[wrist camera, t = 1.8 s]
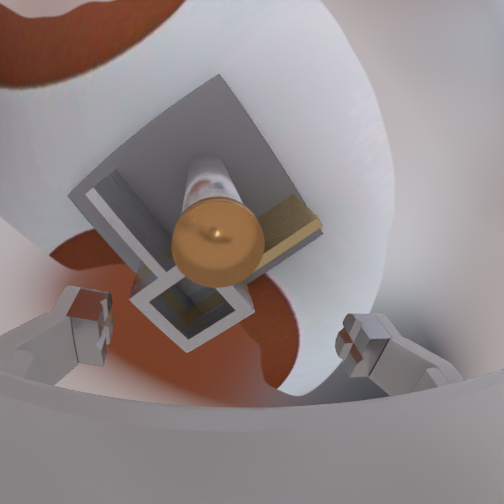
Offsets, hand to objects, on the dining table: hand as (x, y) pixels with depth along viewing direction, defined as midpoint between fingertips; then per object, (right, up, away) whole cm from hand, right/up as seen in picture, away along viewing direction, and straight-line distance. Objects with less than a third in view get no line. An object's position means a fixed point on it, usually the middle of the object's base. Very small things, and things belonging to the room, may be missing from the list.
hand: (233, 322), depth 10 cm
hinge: (-5, +7, +24) cm, 25 cm away
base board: (-6, +7, +25) cm, 26 cm away
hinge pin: (-4, +11, +22) cm, 25 cm away
